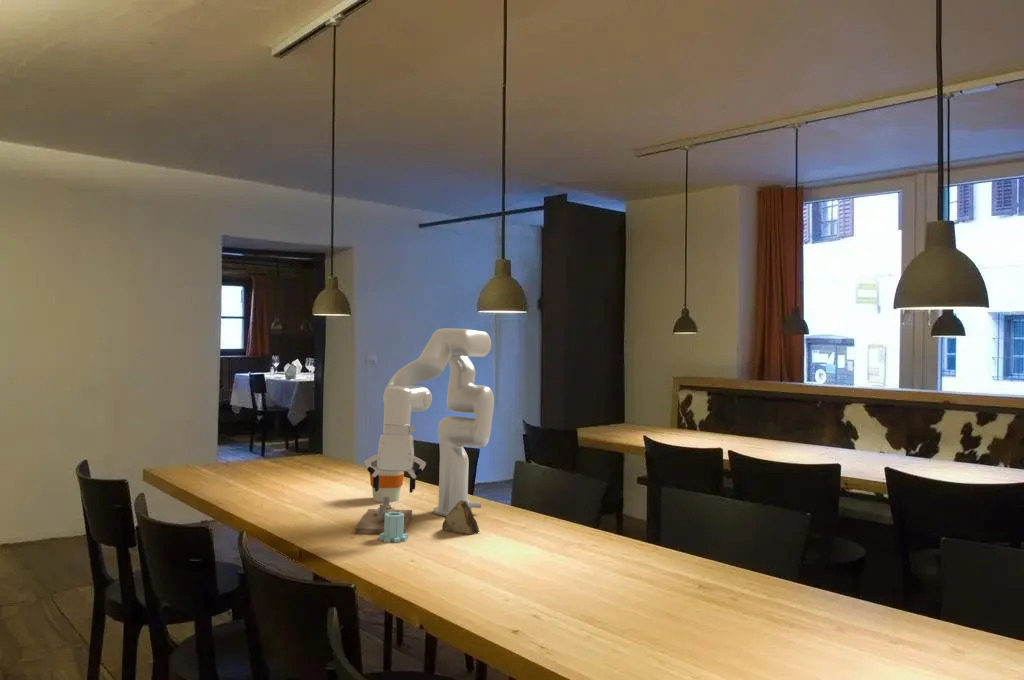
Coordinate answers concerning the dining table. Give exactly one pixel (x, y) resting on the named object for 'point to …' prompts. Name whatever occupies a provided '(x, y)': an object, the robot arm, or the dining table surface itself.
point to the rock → (461, 519)
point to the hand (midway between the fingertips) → (394, 491)
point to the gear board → (376, 525)
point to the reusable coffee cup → (387, 484)
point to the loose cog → (393, 528)
